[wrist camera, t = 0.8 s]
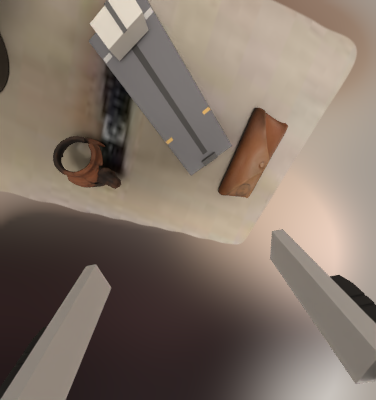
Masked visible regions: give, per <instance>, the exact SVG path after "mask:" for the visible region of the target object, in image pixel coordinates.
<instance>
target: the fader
mask: <svg viewBox="0 0 376 400" xmlns="http://www.w3.org/2000/svg"><path fill="white" fill-rule="evenodd" d="M104 5H105V6H104V7H103V8H102V9H101V11H100V12H99V13H98V14H97V16H96V17H95V18H94V19H93V20H92V22H91V23H90V25H91V26H92V27H93V29H94V30H95V31H96V33H97V34H98V36H99V37H100V38H101V40H102V41H103V42H104V44H105V45H106V46H107V48H108V49H109V50H110V51H111V53H112V54H113V55H114V56H115V57H116V58H117V59H118V60H119V61H120V60H121V59H122V58H123V57H124V56H125V55H126V54H127V53H128V52H129V51H130V50H131V48H132V47H133V46H134V45H135V44H136V43H137V42H138V41H139V40H140V39H141V38H142V37H143V36H144V35H145V34H146V32H147V31H148V27H147V24H146V21H145V18H144V15H143V12H142V10H141V8H140V7H139V5H138V4H137V2H136V0H109V1H108V0H107V1H106V2H105V3H104Z"/></svg>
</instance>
